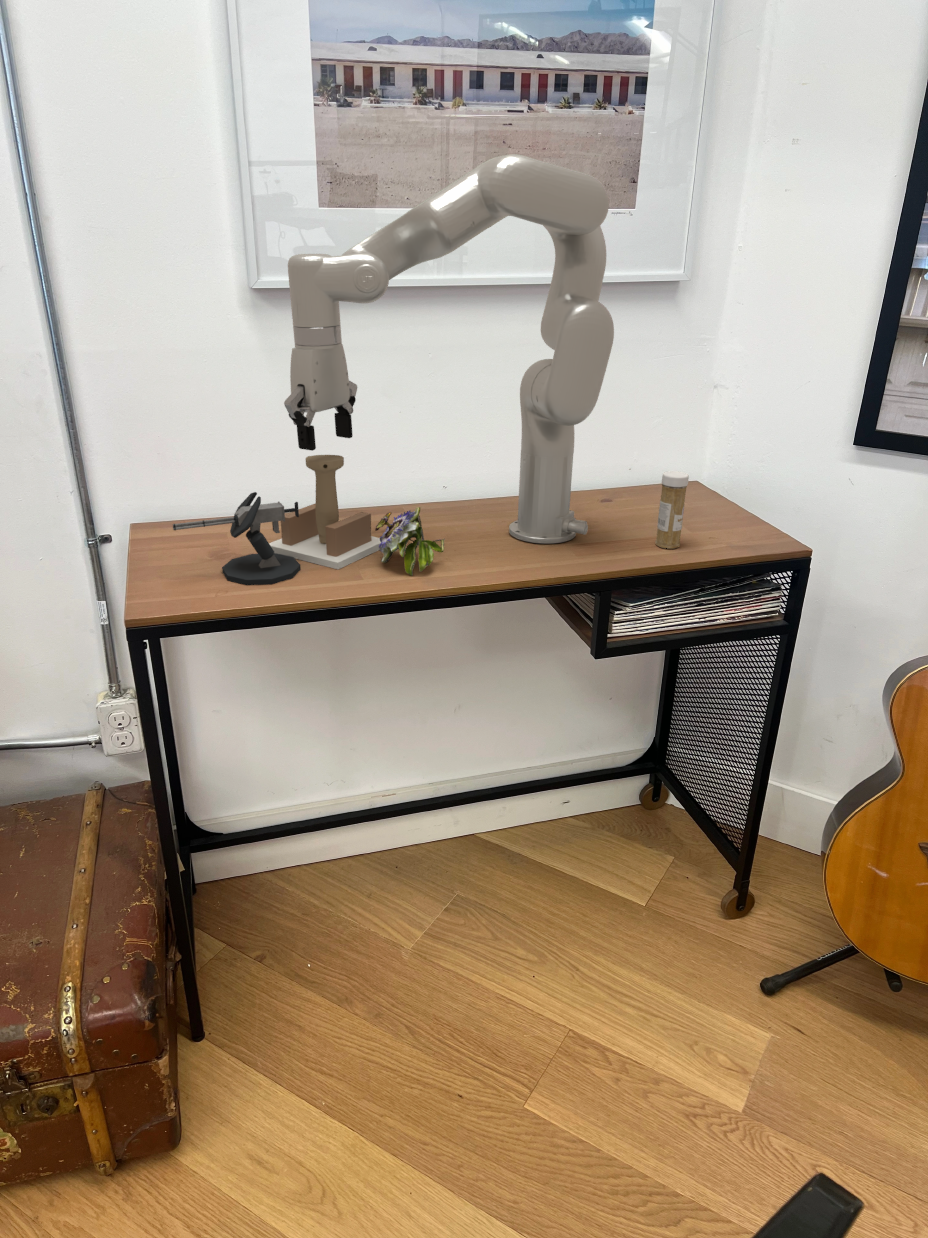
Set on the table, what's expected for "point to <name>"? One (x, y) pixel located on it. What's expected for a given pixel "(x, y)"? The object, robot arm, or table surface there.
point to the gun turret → (255, 543)
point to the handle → (325, 490)
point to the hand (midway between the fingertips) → (326, 442)
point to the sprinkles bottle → (671, 509)
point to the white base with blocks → (342, 539)
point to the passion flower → (401, 534)
